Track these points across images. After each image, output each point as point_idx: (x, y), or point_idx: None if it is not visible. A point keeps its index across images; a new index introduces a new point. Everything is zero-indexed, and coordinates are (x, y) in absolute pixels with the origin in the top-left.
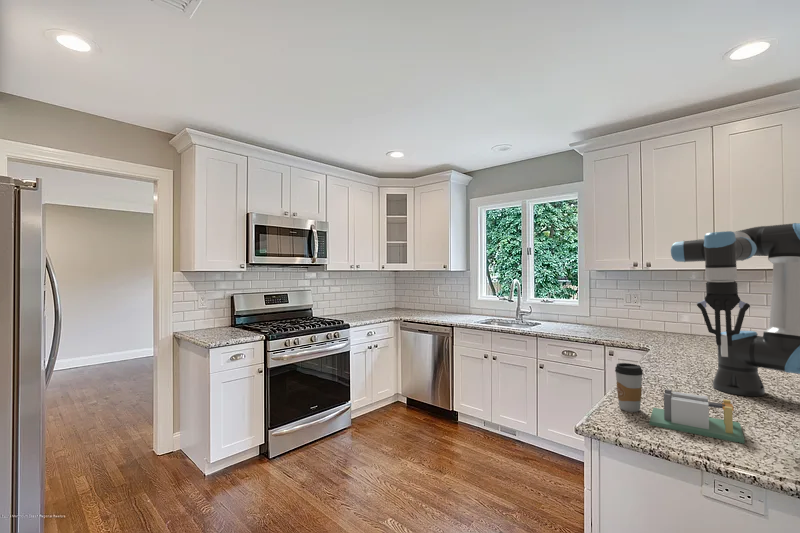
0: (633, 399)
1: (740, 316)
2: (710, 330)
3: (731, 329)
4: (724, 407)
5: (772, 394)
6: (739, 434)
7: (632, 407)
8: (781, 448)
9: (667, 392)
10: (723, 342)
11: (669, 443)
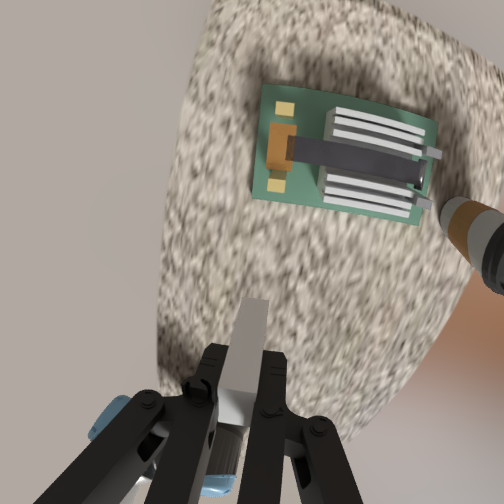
0: (469, 202)
1: (72, 496)
2: (323, 431)
3: (173, 428)
4: (292, 125)
5: (180, 391)
6: (266, 110)
7: (460, 197)
8: (200, 99)
9: (423, 197)
10: (249, 354)
11: (400, 32)
